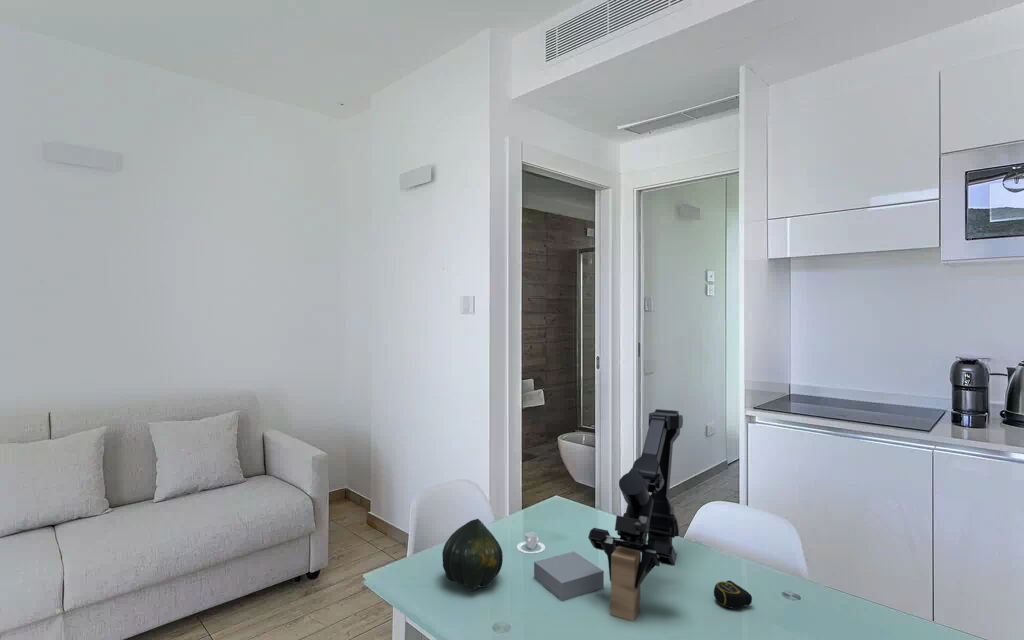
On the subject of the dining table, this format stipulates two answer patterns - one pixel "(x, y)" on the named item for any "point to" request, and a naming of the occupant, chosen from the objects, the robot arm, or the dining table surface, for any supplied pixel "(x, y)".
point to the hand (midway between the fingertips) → (623, 584)
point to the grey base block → (568, 575)
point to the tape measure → (731, 595)
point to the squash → (472, 556)
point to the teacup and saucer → (531, 543)
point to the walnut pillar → (625, 583)
